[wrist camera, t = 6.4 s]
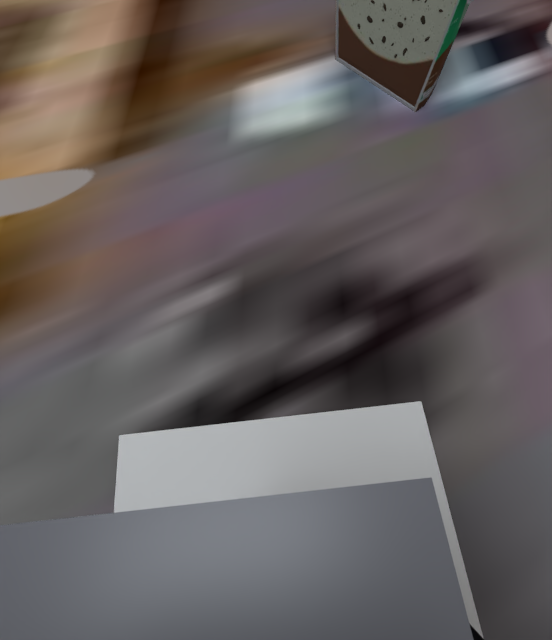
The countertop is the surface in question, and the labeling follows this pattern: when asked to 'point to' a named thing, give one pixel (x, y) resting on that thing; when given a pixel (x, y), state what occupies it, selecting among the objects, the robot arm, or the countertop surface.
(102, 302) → the countertop surface
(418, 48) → the food container
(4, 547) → the plug
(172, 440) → the socket
